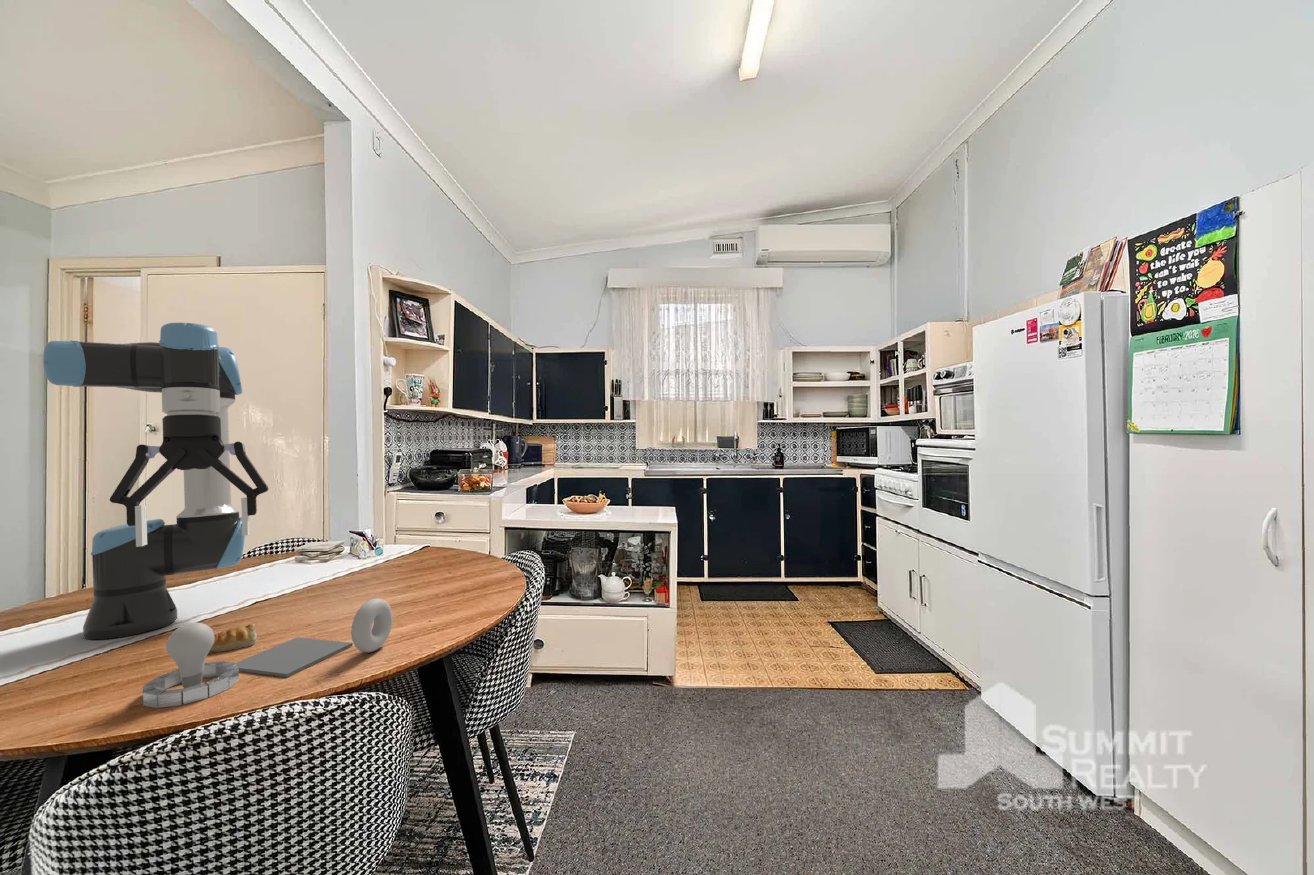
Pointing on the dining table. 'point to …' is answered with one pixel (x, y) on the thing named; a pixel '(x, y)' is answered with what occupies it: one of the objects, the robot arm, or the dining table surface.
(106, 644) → the dining table surface
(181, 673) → the lightbulb
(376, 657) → the dining table surface
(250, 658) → the mat
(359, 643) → the donut
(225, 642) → the pastry
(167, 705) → the segmented bracelet
